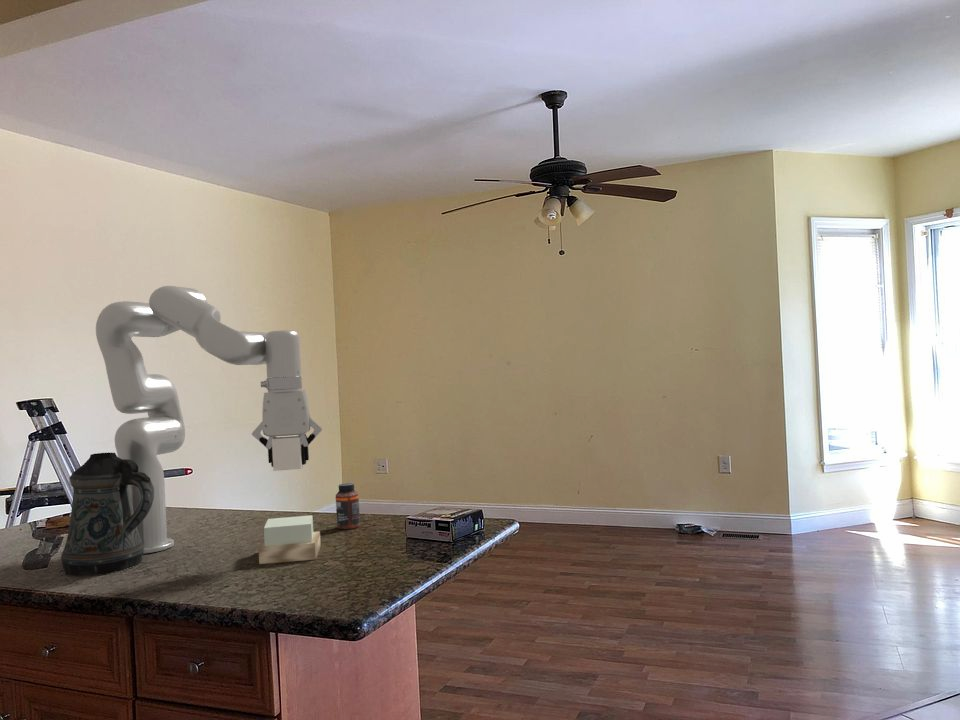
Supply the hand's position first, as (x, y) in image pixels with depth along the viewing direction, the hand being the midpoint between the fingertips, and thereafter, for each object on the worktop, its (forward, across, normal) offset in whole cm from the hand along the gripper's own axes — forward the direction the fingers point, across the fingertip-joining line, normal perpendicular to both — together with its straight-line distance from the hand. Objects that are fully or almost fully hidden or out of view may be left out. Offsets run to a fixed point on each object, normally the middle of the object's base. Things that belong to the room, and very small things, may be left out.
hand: (289, 464), depth 167 cm
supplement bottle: (+21, +11, +25) cm, 34 cm away
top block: (+17, -1, 0) cm, 17 cm away
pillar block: (+1, 0, 0) cm, 1 cm away
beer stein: (+20, -40, +3) cm, 45 cm away
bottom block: (+21, -1, 0) cm, 21 cm away
